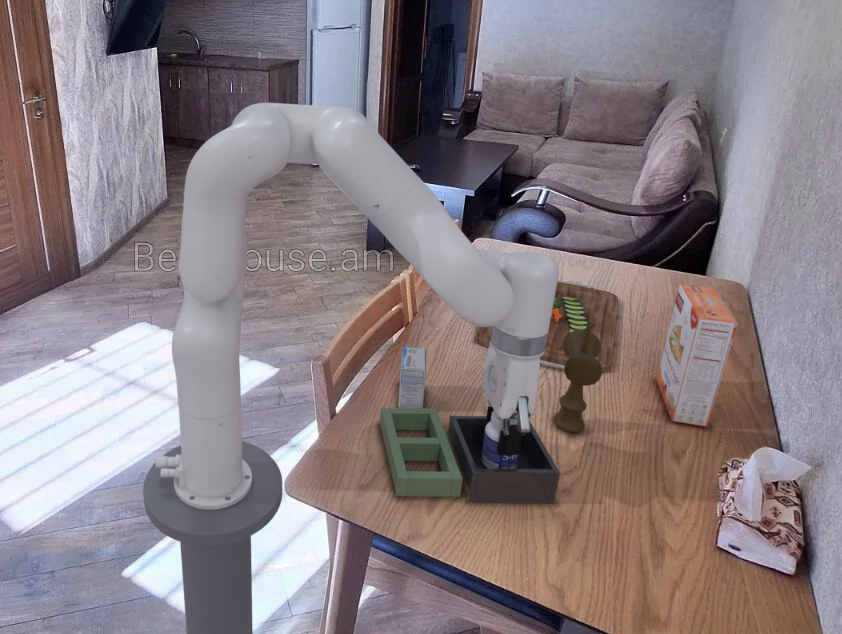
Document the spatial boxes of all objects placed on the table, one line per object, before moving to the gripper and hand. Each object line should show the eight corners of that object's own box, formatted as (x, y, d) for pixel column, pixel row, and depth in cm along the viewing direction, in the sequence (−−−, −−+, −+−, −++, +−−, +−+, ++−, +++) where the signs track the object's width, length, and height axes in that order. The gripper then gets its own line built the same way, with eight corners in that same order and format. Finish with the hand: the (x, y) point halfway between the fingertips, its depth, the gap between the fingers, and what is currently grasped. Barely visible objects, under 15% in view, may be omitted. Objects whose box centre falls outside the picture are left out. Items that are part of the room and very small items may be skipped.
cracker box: (653, 380, 126) (678, 282, 118) (689, 386, 124) (716, 287, 116) (668, 422, 114) (697, 315, 106) (707, 429, 112) (740, 321, 104)
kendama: (585, 414, 116) (607, 314, 108) (588, 446, 108) (611, 341, 100) (549, 406, 118) (568, 308, 110) (549, 437, 110) (569, 334, 102)
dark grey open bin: (468, 502, 96) (472, 472, 94) (446, 443, 108) (450, 415, 106) (554, 503, 96) (560, 473, 93) (522, 444, 108) (527, 416, 106)
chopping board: (608, 382, 125) (611, 368, 124) (468, 348, 137) (469, 336, 136) (618, 294, 162) (620, 283, 161) (506, 274, 174) (508, 263, 173)
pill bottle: (504, 479, 98) (511, 431, 95) (474, 462, 102) (479, 415, 98) (523, 464, 101) (530, 416, 98) (493, 447, 105) (499, 401, 102)
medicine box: (422, 411, 117) (426, 370, 113) (397, 408, 118) (400, 367, 114) (422, 387, 124) (426, 348, 121) (399, 384, 125) (402, 345, 122)
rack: (396, 496, 97) (398, 477, 96) (379, 424, 113) (381, 407, 112) (460, 497, 97) (462, 478, 96) (434, 425, 113) (436, 408, 112)
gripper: (475, 310, 101) (462, 407, 108) (511, 368, 85) (494, 478, 92) (523, 310, 101) (508, 408, 108) (569, 369, 85) (547, 479, 92)
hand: (501, 439), depth 100 cm, fingers closed on pill bottle, 5 cm apart
